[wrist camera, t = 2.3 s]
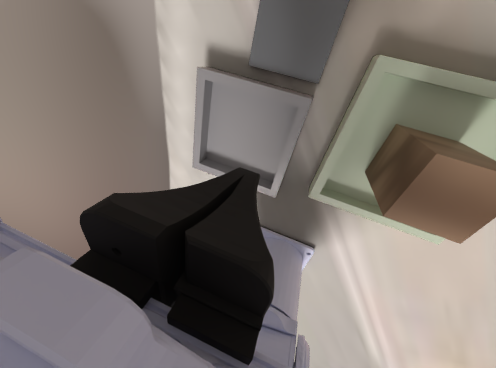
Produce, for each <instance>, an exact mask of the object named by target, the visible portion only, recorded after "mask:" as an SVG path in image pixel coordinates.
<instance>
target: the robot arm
mask: <svg viewBox="0 0 496 368" xmlns="http://www.w3.org/2000/svg"><path fill="white" fill-rule="evenodd" d="M259 180H260V174H258V173H255V172H252V171H250V170H247V169H244V168H241V167H239V168H237V169H235V170H232V171H230V172H228V173H226V174H223V175H221V176H219V177H216V178H213V179H211V180H208V181H205V182H202V183H199V184H195V185H191V186H187V187H183V188H177V189H171V190H165V191H157V192H144V193H114V194H112V195H110V196H109V197H107V198H105V199H103V200H102V201H100V202H98V203H97V204H95V205H93V206H92V207H90V208H88V209H87V210H85V211H83V213H82V214H81V215H80V225H81V228H82V231H83V233H84V235H85V237H86V239H87V242H88V244H89V246H90V249H91V250H90V251H88V252H87V253H86V254H84V255H83V256H82V257H80V258H79V259H78V260H76V259H73V258H72V257H70V256H68V255H66V254H64V253H62V252H60V251H58V250H56V249H54V248H52V247H50V246H48V245H46V244H44V243H42V242H40V241H38V240H36V239H34V238H32V237H30V236H28V235H26V234H24V233H22V232H20V231H18V230H16V229H14V228H12V227H11V226H8V225H7V224H5V223H3V222H2V219H1V218H0V368H309V360H310V349H309V345H308V343H307V341H306V340H305V337H304V336H303V335H299V334H298V342H297V347H296V355H295V362H294V354H295V344H296V334H297V323H298V322H297V314H298V304H299V294H300V284H301V274H302V270H303V269H304V267H305V266H306V264H307V263H308V261H309V260H310V258H311V257H312V255H313V254H314V248H312V247H310V246H308V245H305V244H303V243H300V242H298V241H295V240H293V239H290V238H288V237H285V236H283V235H280V234H278V233H275V232H273V231H270V230H268V229H265V228H263V227H261V226H260V222H259V217H258V211H257V200H256V193H257V187H258V184H259Z"/></svg>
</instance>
